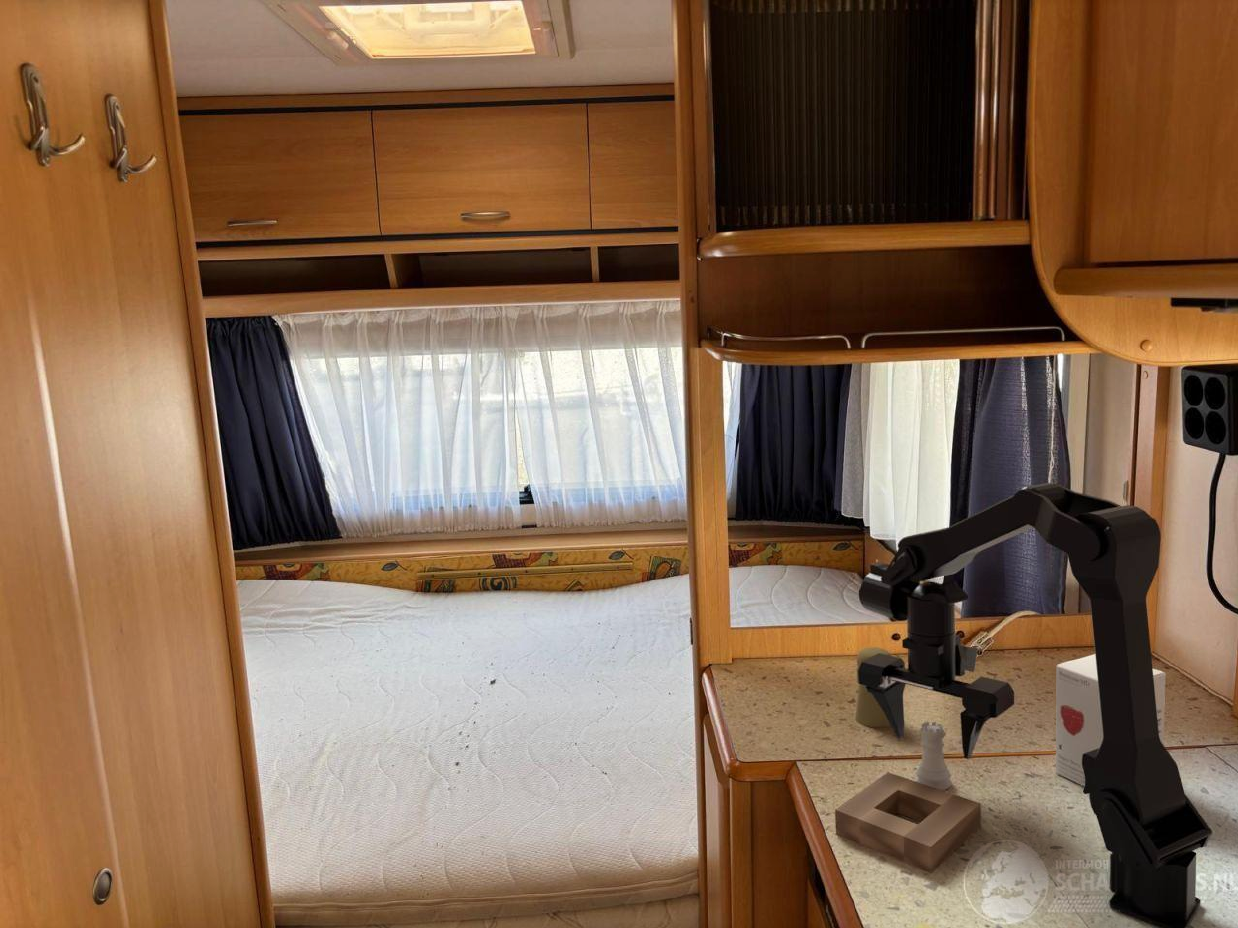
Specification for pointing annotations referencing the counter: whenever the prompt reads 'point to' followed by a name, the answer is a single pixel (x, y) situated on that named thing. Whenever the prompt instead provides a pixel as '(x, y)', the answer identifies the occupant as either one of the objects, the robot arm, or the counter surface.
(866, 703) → the cork
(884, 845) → the walnut socket
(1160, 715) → the supplement box
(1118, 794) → the robot arm
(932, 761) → the rook chess piece
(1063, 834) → the counter surface
